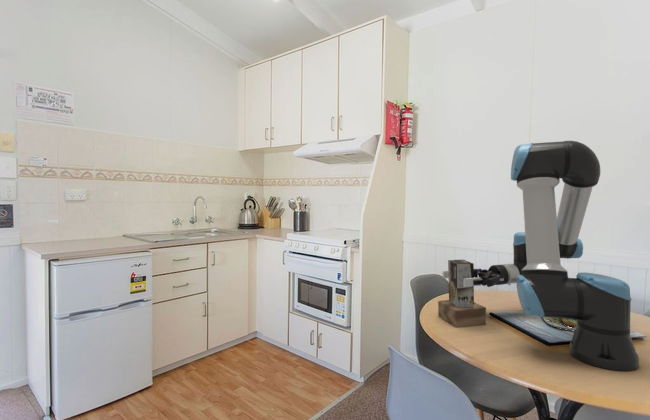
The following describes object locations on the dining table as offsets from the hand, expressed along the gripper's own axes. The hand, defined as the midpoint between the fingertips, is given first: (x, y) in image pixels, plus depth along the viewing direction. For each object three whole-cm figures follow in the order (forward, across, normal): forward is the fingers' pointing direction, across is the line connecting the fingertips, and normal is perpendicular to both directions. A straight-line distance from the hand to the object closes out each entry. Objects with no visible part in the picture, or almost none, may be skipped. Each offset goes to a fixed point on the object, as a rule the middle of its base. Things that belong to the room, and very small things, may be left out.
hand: (452, 278), depth 128 cm
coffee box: (-3, 0, -10) cm, 11 cm away
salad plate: (-38, -13, -17) cm, 44 cm away
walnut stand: (-3, 0, -16) cm, 16 cm away
